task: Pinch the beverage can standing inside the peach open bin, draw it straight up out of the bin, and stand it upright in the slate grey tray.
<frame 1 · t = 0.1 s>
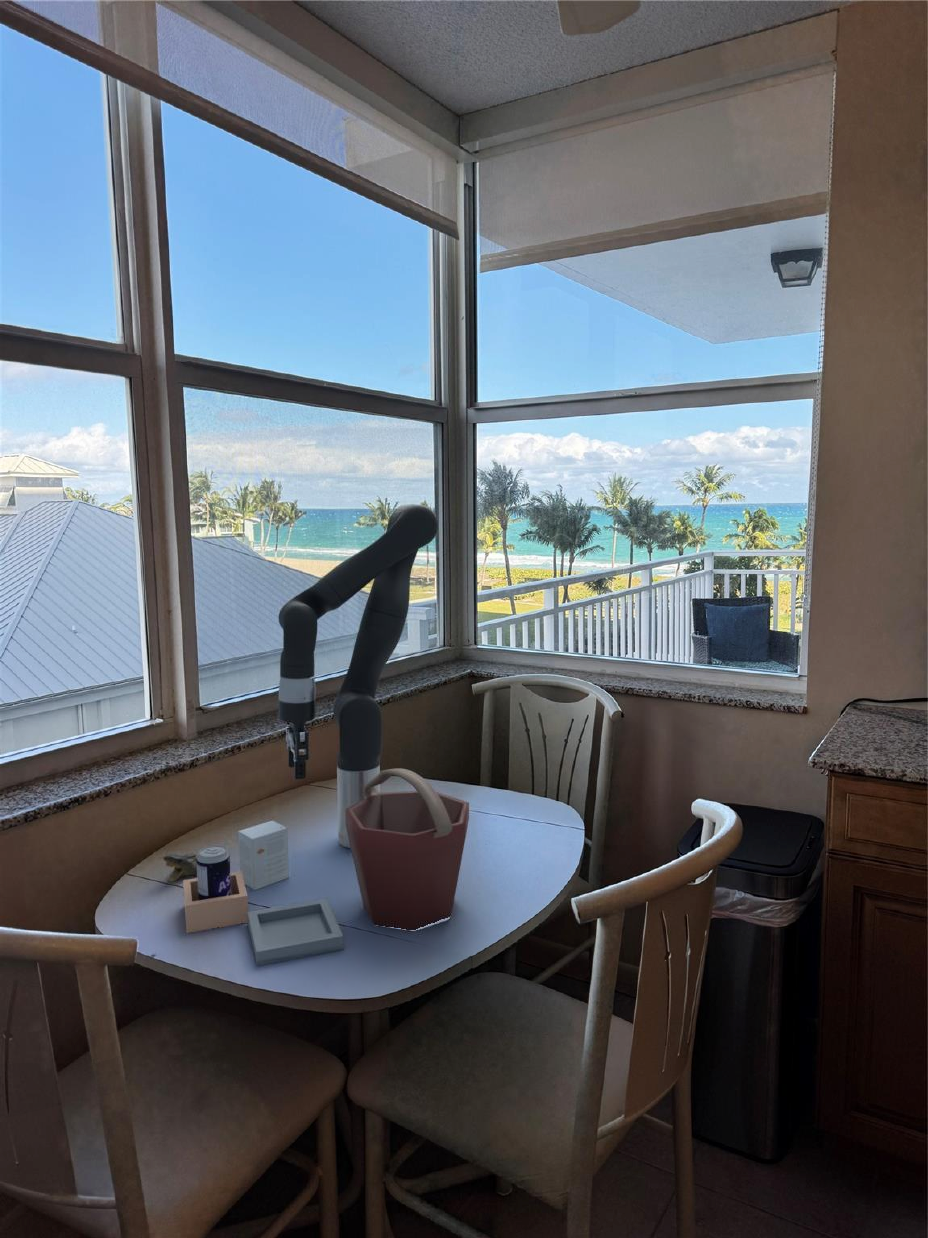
hand: (296, 772, 173), 17 cm above the table, tool pointing down, fingers open, 8 cm apart
beverage can: (215, 915, 148), resting in peach open bin
bucket: (412, 908, 151), on the table
peach open bin: (215, 914, 148), on the table
small box: (264, 881, 162), on the table
slate tray: (294, 936, 140), on the table
dinosaur head: (177, 879, 163), on the table
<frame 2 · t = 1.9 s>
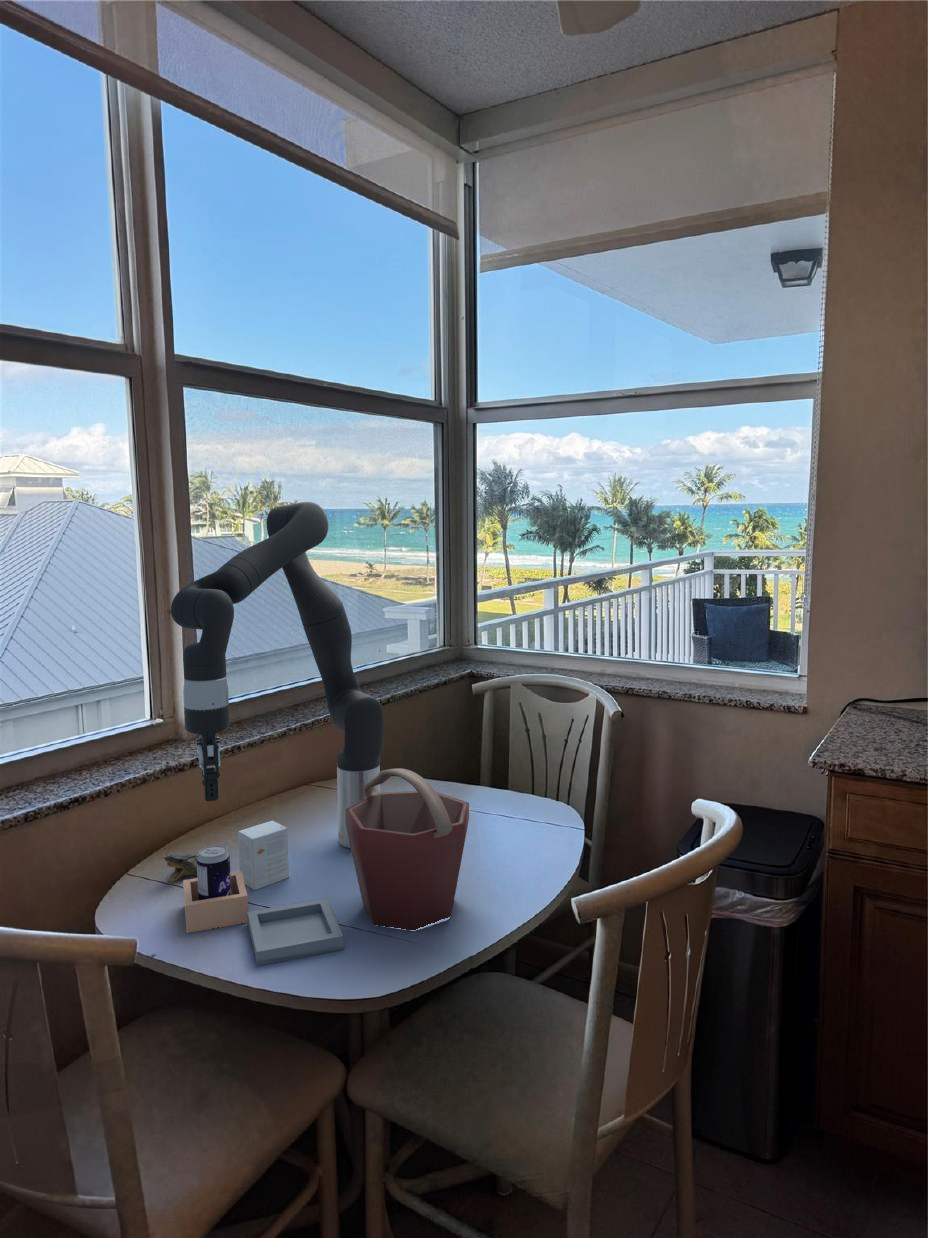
hand: (210, 792, 145), 23 cm above the table, tool pointing down, fingers open, 8 cm apart
nothing on the table moved.
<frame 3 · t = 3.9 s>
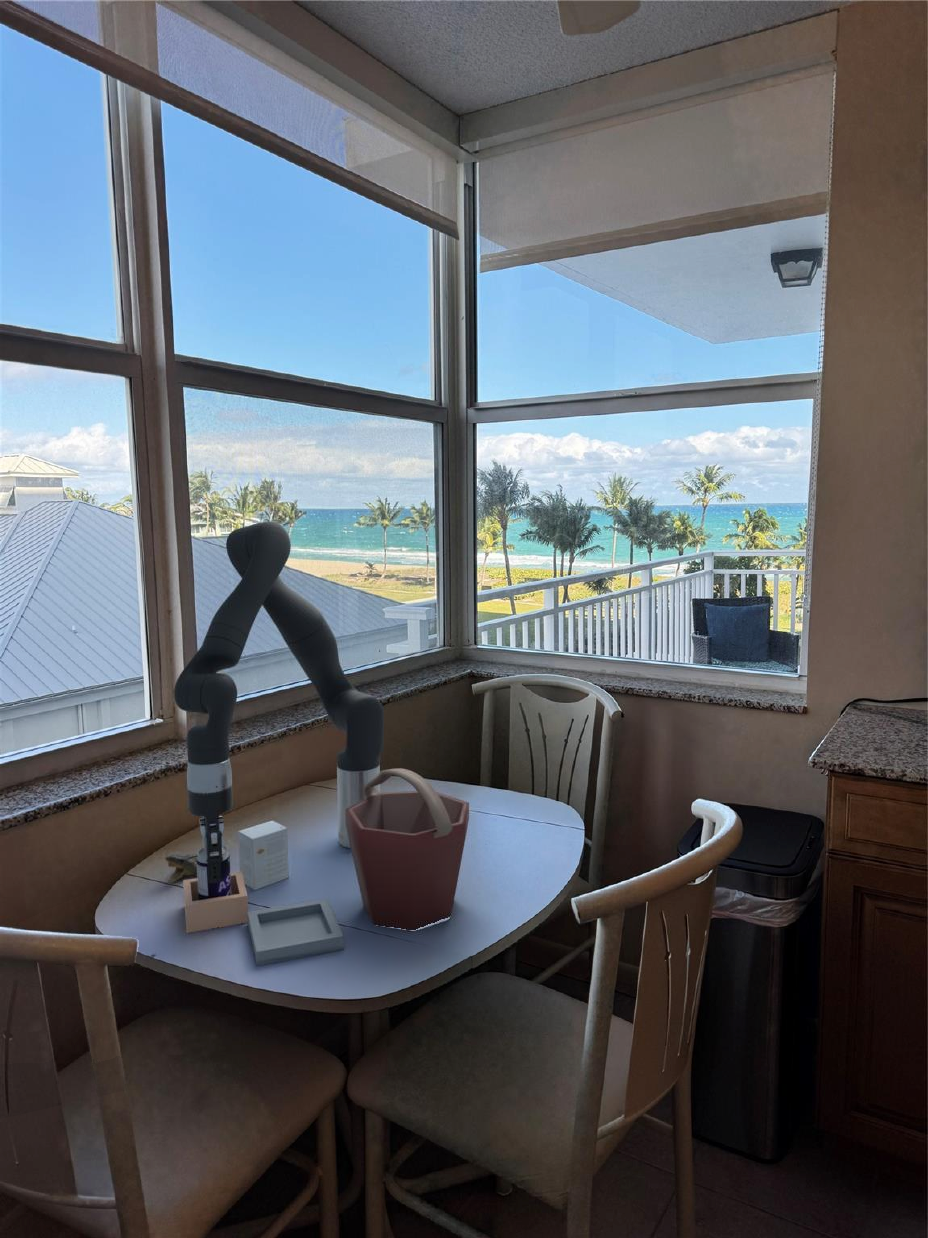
hand: (213, 874, 147), 8 cm above the table, tool pointing down, fingers closed on beverage can, 5 cm apart
beverage can: (215, 915, 148), resting in peach open bin, touching gripper
everything else where it was.
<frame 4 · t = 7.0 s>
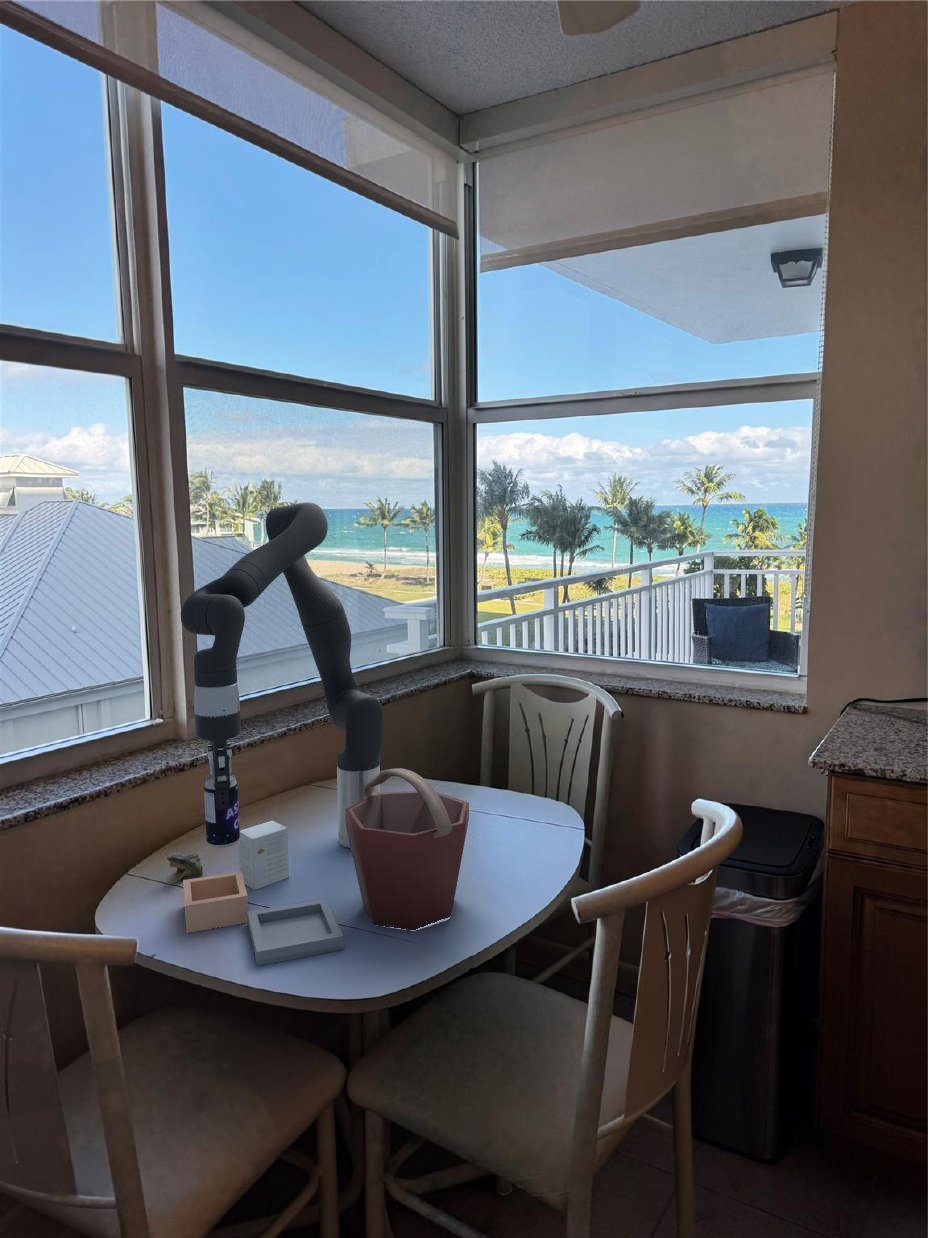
hand: (221, 802, 144), 21 cm above the table, tool pointing down, fingers closed on beverage can, 5 cm apart
beverage can: (223, 844, 145), point 14 cm above the table, touching gripper
everything else where it was.
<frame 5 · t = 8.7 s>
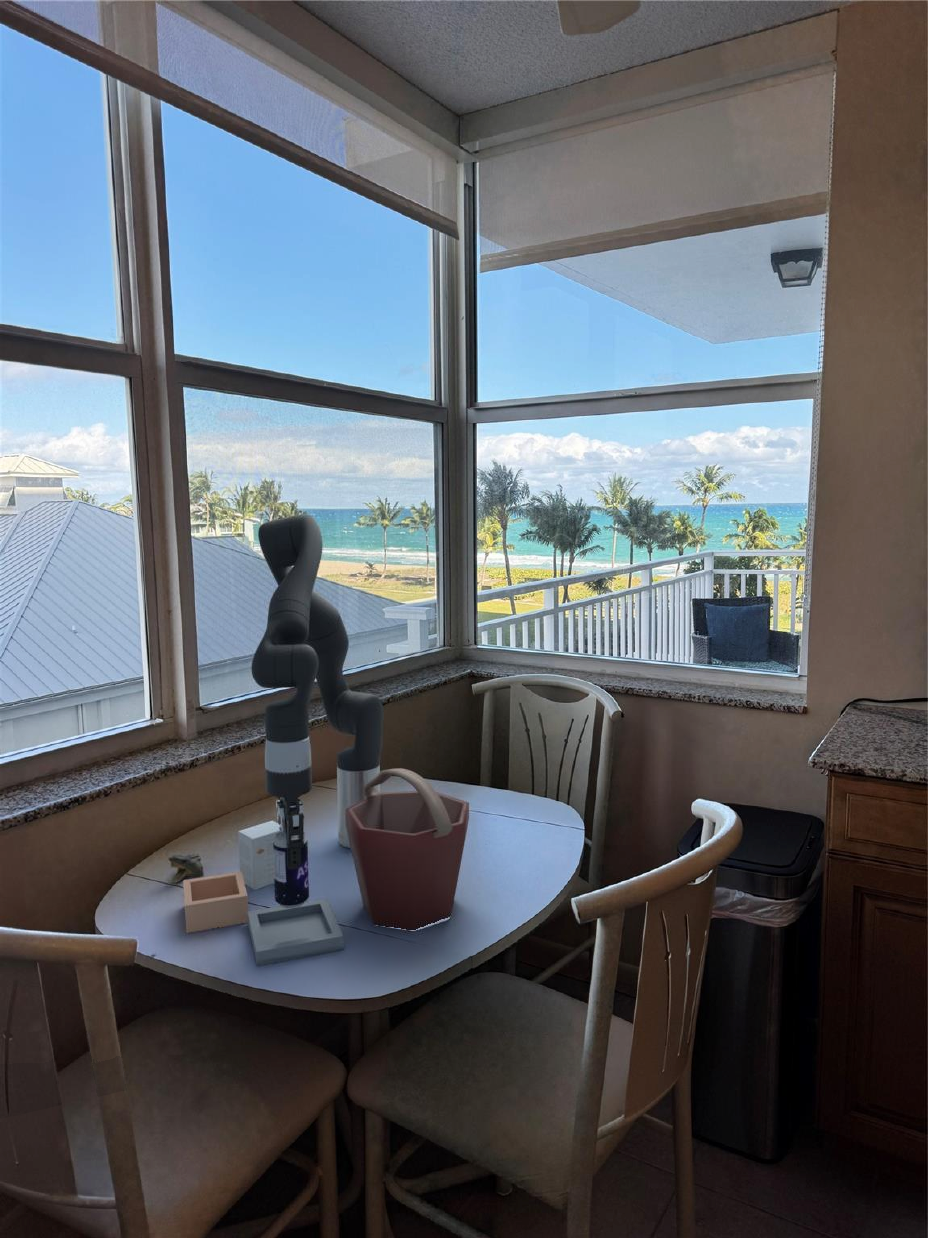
hand: (291, 860, 138), 14 cm above the table, tool pointing down, fingers closed on beverage can, 5 cm apart
beverage can: (292, 903, 139), point 6 cm above the table, touching gripper
everything else where it was.
when the fingers open (9 cm above the table, at t = 10.2 s): beverage can stays where it is, resting on slate tray.
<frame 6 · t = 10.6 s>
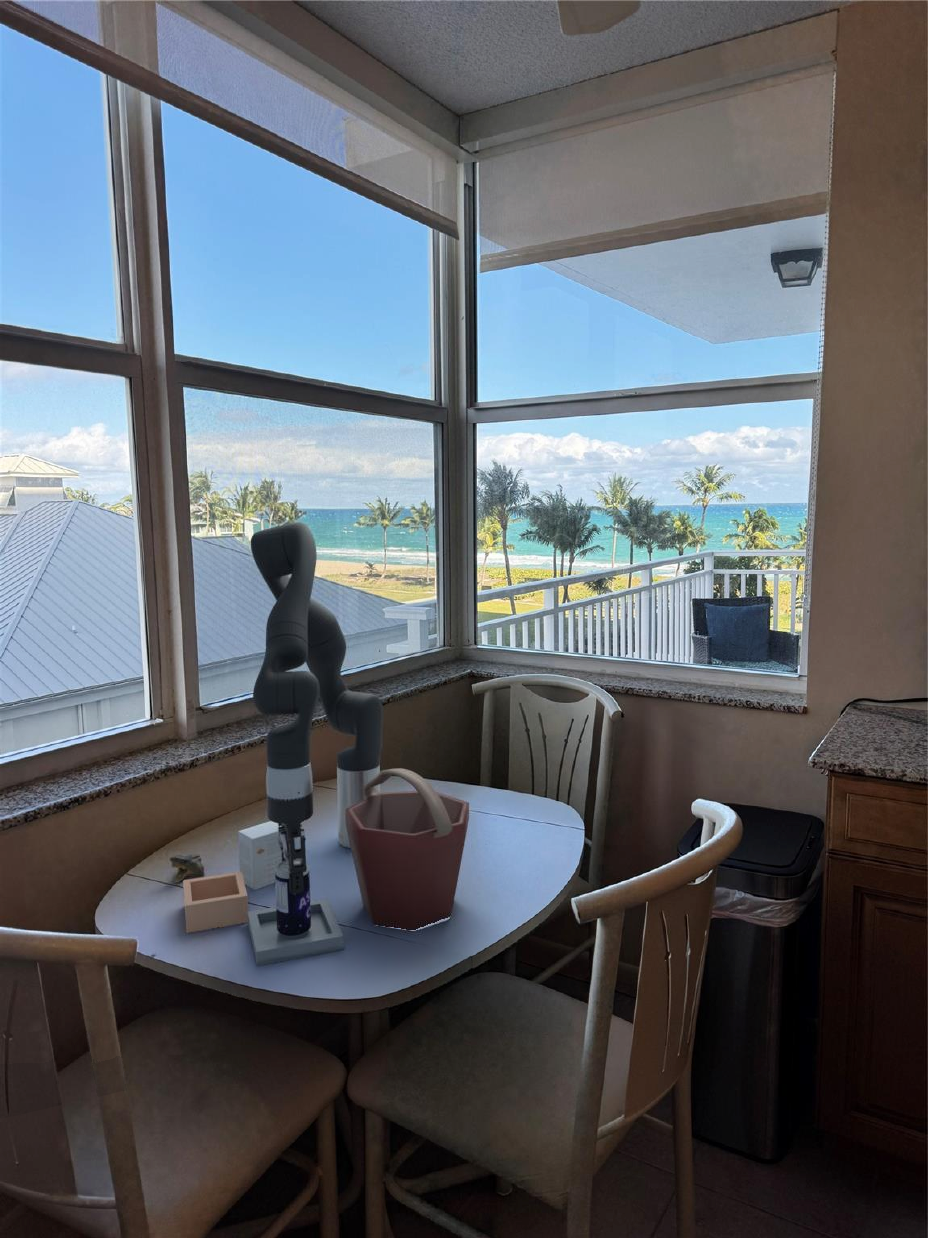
hand: (292, 881, 139), 10 cm above the table, tool pointing down, fingers open, 8 cm apart
beverage can: (294, 933, 140), point 1 cm above the table, touching slate tray
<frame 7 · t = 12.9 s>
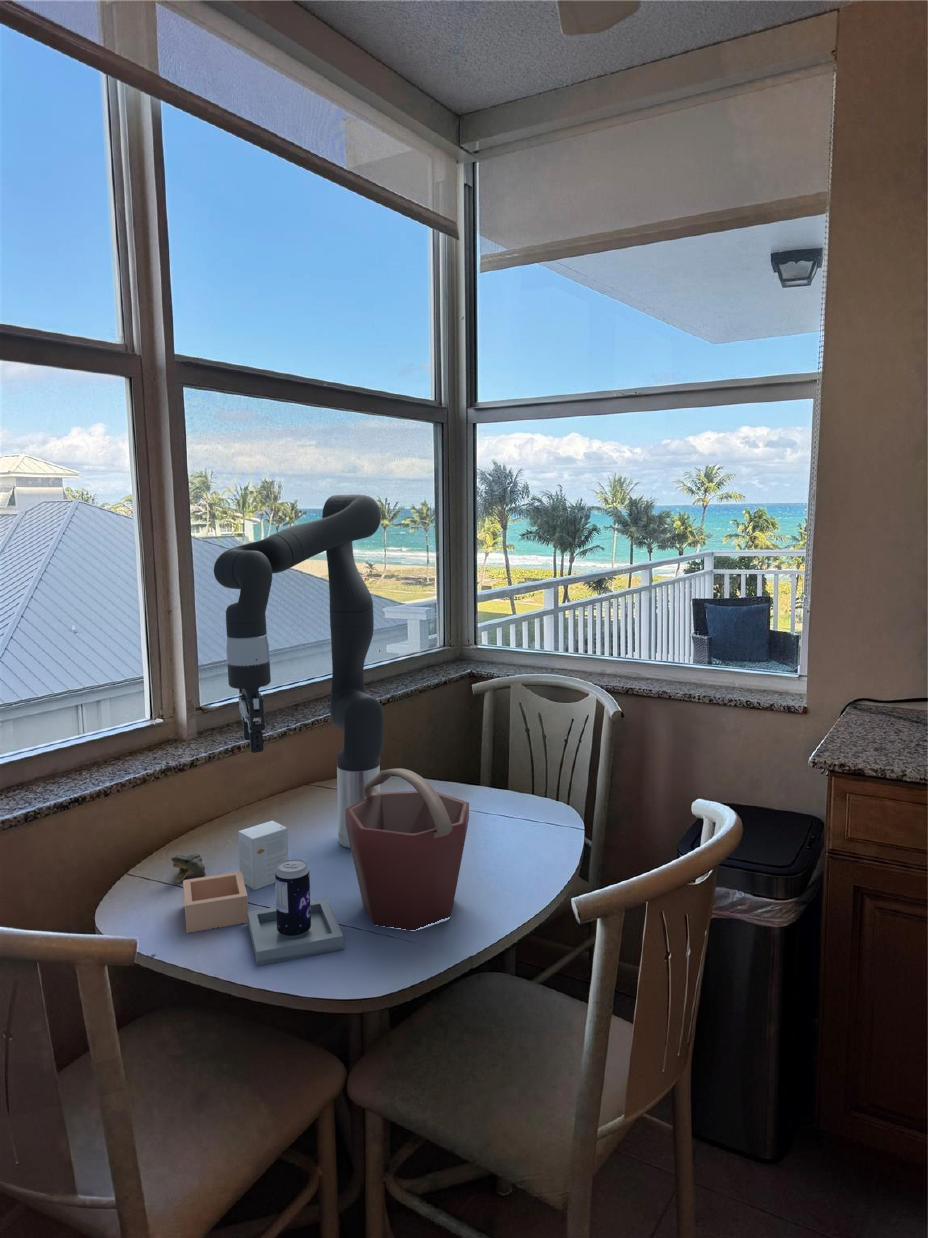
hand: (253, 745, 152), 29 cm above the table, tool pointing down, fingers open, 8 cm apart
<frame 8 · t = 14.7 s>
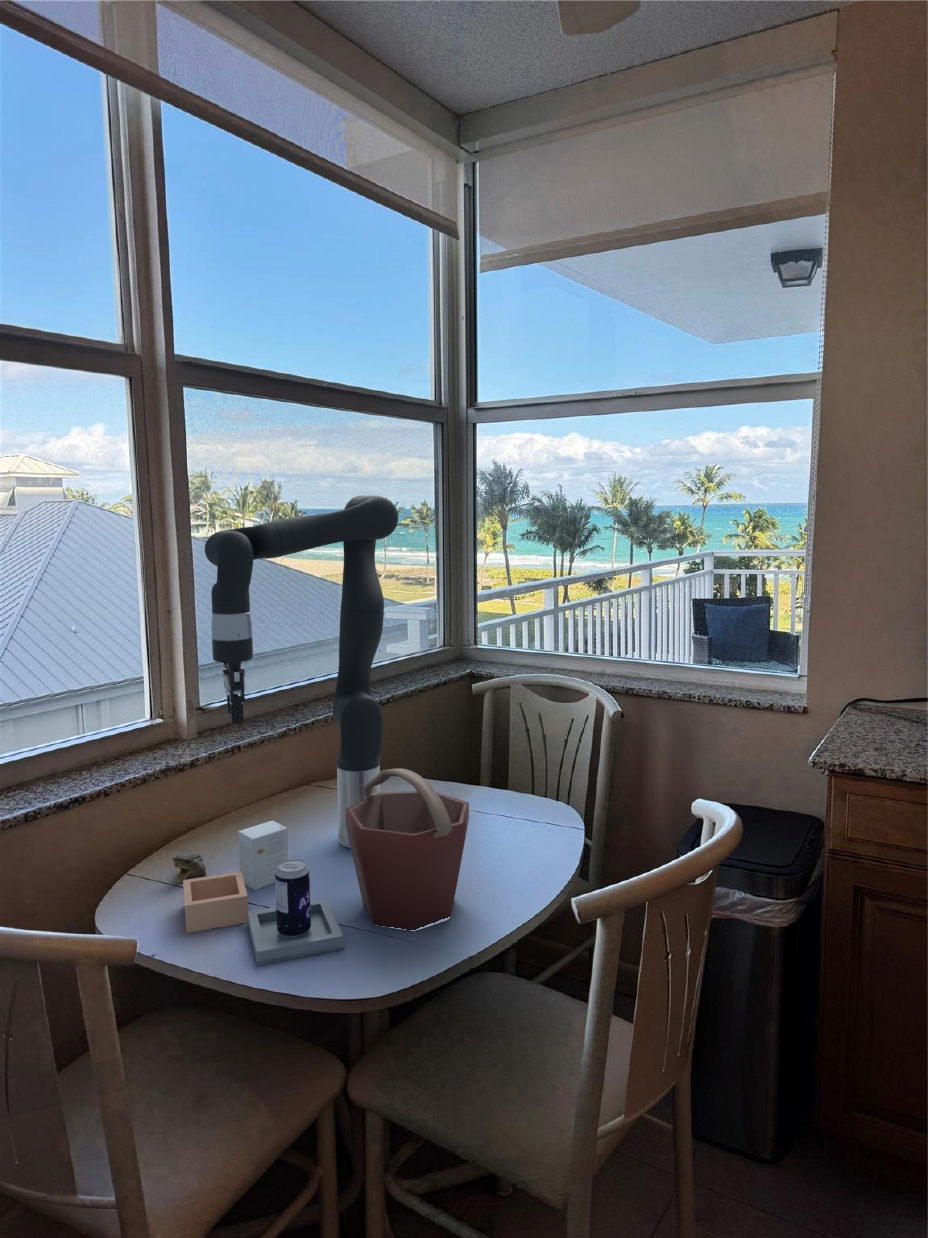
hand: (235, 718, 160), 32 cm above the table, tool pointing down, fingers open, 8 cm apart
at the end: beverage can inside the target area on the slate tray (0.1 cm from its centre), point 0.6 cm above the slate tray's base; beverage can tilted 0°; the gripper is holding nothing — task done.
